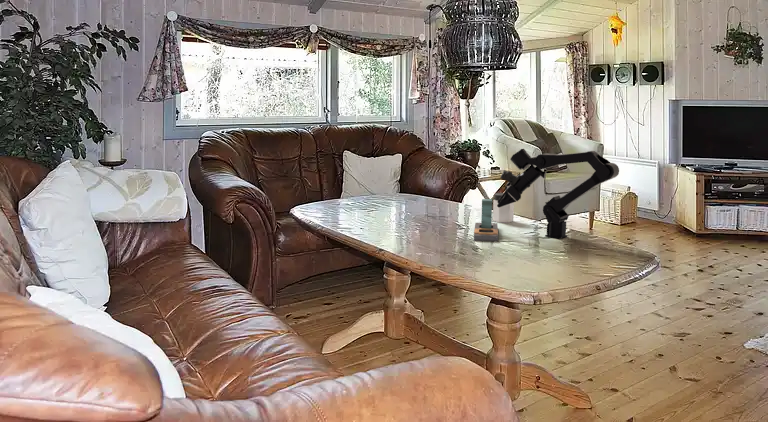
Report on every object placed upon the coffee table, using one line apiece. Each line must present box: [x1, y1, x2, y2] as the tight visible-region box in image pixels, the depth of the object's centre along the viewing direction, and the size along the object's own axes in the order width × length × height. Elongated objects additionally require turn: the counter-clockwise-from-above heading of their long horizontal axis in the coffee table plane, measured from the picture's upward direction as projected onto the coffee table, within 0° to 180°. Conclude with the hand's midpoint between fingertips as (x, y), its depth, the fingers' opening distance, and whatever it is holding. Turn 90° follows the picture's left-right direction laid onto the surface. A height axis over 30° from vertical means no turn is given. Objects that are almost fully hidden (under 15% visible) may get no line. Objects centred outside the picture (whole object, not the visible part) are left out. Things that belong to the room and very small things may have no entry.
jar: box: [492, 192, 515, 224], centre depth 283 cm, size 9×8×12 cm
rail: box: [473, 222, 499, 242], centre depth 256 cm, size 26×9×2 cm, turn 170°
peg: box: [480, 198, 493, 228], centre depth 260 cm, size 4×4×13 cm
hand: (497, 204), depth 258 cm, fingers open, 9 cm apart
